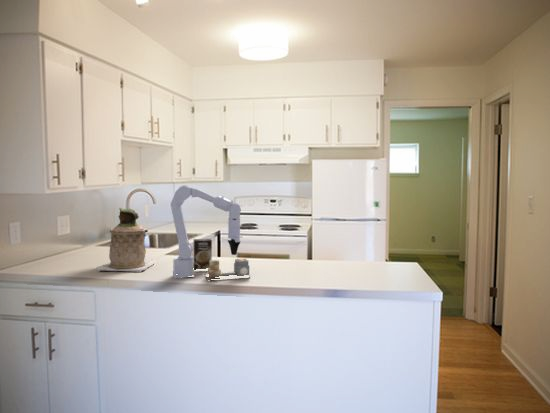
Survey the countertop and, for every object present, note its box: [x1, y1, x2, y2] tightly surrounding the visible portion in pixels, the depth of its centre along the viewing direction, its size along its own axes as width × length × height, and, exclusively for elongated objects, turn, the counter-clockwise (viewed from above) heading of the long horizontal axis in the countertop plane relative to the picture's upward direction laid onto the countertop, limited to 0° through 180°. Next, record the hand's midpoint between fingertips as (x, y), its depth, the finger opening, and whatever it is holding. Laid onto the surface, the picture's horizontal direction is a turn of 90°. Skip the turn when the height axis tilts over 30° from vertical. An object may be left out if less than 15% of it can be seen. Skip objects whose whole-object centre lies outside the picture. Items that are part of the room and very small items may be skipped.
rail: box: [209, 270, 236, 277], centre depth 196 cm, size 13×2×2 cm, turn 109°
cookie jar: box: [96, 207, 157, 273], centre depth 216 cm, size 25×25×32 cm
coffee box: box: [192, 238, 213, 271], centre depth 211 cm, size 9×6×16 cm
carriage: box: [207, 259, 222, 276], centre depth 194 cm, size 5×6×7 cm
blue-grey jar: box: [233, 258, 250, 276], centre depth 198 cm, size 6×8×7 cm, turn 19°
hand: (233, 254), depth 201 cm, fingers closed
